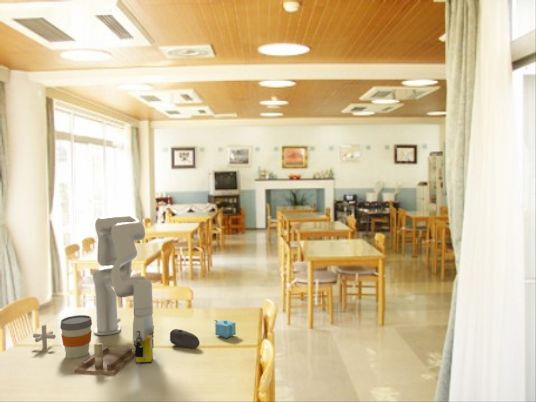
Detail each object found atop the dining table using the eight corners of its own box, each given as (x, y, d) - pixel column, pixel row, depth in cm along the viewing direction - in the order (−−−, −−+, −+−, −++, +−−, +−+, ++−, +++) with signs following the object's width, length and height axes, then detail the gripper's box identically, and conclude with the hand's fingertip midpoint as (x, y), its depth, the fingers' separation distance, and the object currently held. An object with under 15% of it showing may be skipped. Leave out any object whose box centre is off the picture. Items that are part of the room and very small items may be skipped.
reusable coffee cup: (99, 350, 213) (98, 316, 212) (79, 361, 201) (77, 325, 200) (75, 347, 217) (74, 314, 216) (54, 357, 205) (53, 322, 204)
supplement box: (138, 358, 203) (137, 332, 202) (153, 357, 203) (152, 332, 203) (135, 364, 197) (135, 337, 196) (151, 363, 197) (150, 336, 197)
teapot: (210, 335, 230) (209, 319, 230) (219, 331, 235) (218, 316, 235) (229, 340, 223) (228, 324, 222) (238, 336, 228) (237, 320, 227)
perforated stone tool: (203, 347, 214) (202, 332, 214) (195, 351, 210) (194, 335, 209) (176, 342, 222) (176, 327, 221) (168, 345, 217) (168, 330, 217)
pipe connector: (47, 352, 211) (46, 329, 211) (27, 350, 213) (26, 328, 213) (61, 344, 221) (60, 322, 220) (42, 342, 223) (41, 321, 222)
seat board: (103, 351, 211) (103, 328, 210) (138, 353, 208) (137, 330, 207) (74, 372, 189) (73, 346, 189) (113, 375, 186) (112, 349, 186)
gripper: (143, 304, 208) (145, 344, 209) (124, 316, 191) (126, 359, 192) (160, 305, 206) (161, 345, 207) (142, 317, 189) (144, 360, 191)
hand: (144, 352), depth 200 cm, fingers open, 9 cm apart
